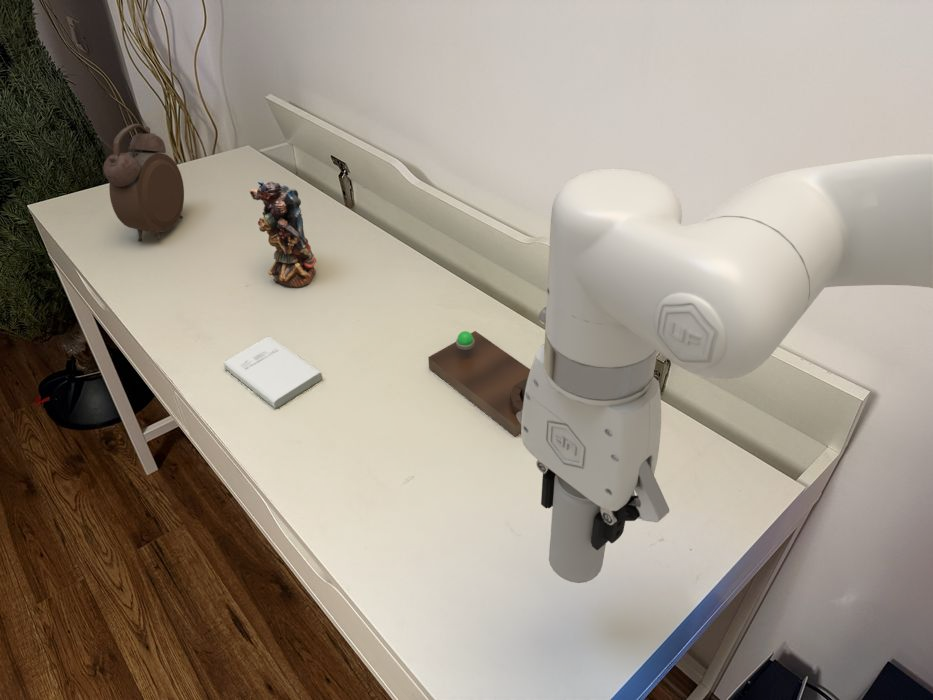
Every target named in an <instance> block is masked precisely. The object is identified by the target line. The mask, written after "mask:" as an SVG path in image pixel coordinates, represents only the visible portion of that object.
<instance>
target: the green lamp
mask: <svg viewBox="0 0 933 700" xmlns="http://www.w3.org/2000/svg"><path fill="white" fill-rule="evenodd" d="M471 333H472V332H470V331H467V330H465V331H464V330H463V331H461V332H459V334H458V335H457V338H456V339H455V342H456V345H457V347H458V348H460V349H463V350H467V349H471V348H472V347H473V346H474V344H475V341H474V338H473V336H472V334H471Z"/></svg>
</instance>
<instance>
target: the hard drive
mask: <svg viewBox="0 0 933 700" xmlns="http://www.w3.org/2000/svg"><path fill="white" fill-rule="evenodd" d="M223 366H224V369H225V370H226V371H228V372H229V373H230V374H232V375H233V376H234V377H235V378H236V379H237V380H239V381H240V382H241V383H243V384H244V385H245V386H246V387H248V388H249V389H250V390H251V391H252V392H253V393H255V394H257V395H258V396H259V397H261V399H263V400H264V401H265V402H267V404H269V405H271V407H273V408H274V409H279V408H281V407H282V406H284V405H285V404H287V403H289V402H290V401H291V400H293V399H295V398H296V397H298V396H300V395H301V394H303V393H304V392H305V391H307V390H309V389H310V388H311V387H313V386H315V385H317V384H318V383H319V382H321V381H322V380H323V373H322V372H321V371H320V370H319V369H317V368H316V367H314V366H313V365H312V364H310V363H308V362H307V361H306V360H304V359H303V358H301V357H300V356H298V354H296V353H295V352H293V351H292V350H291V349H289V348H287V347H286V346H284V345H283V344H282V343H280V342H279V341H278V340H276V339H274V338H273V337H272V336H266V337H265V338H263V339H261V340H259V341H258V342H256V343H254V344H252V345H251V346H248V347H246V348H245V349H243V350H242V351H240V352H238V353H236V354H235V355H232V356H231V357H229V358H227V359H226V360H225V361H224V362H223Z"/></svg>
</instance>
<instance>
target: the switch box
mask: <svg viewBox="0 0 933 700" xmlns="http://www.w3.org/2000/svg"><path fill="white" fill-rule="evenodd" d="M470 333H471V334H472V336H473V338H474V341H475V344H474V346H473V347H472V348H471V349H467V350H463V349H460V348H458V347H457V345H456V341H454V342H452V343H450V344H449V345H447V346H445V347H444V348H441V349H440V350H438V351H437V352H435V353H433V354H431V355H429V356H428V357H427V358H428V369H429V370H430V371H431V372H432V373H434V374H436V376H438V378H441V380H442V381H444V382H445V383H446V384H447V385H449V386H450V387H452V389H454V390H455V391H457V392H458V393H459V394H461V396H463V397H464V398H465V399H467V400H468V401H469V402H471V403H472V404H473V405H474V406H476V407H477V408H478V409H479V410H480V411H482V412H483V413H484V414H485V415H486V416H488V417H489V418H490V419H492V421H494V422H495V423H497V424H498V425H499V426H500V427H502V428H503V429H505V431H507V432H508V433H510V434H511V435H512V436H513V437H514V438H515V437H516V438H517V437H518V436H519V435H521V423H520V422H519V420H518V419H517V416H516V414H517V413H518V412H519V411H521V410H522V409H523V402H524V401H523V399H522V386H523V384H524V382H525V381H527V380H528V376H529V373H530V369H531V368H529V367H528V366H526V365H525V364H523V363H522V362H521V361H519V360H517V359H516V357H513V356H512V355H510V354H509V353H507V351H504V350H503V349H502V348H500V347H499V346H498V345H497V344H495V343H493V341H490V340H489V339H488V338H486V337H485V336H483V335H482V334H481V333H479V332H478V331H476V330H474V331H472V332H470Z"/></svg>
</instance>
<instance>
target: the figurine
mask: <svg viewBox="0 0 933 700" xmlns="http://www.w3.org/2000/svg"><path fill="white" fill-rule="evenodd" d="M257 184H258V185H259V186H258V189H256V188H253V189H250V190H249V193H250V196H251V197H252V200H254V201H262V204H263V205H264V206H263V211H262V217H260V218H259V219H258V221H257V225H258V227H259V231H260V232H263V233H265V232H266V233H267V235H268V240H267V242H268V244H269V246H271V247H275V251H274V253H273V260H274V262H273V263H272V266H271V267H270V268H269V270H268V271H267V274H268V275H269V276H273V279H272V280H273V282H275V283H276V284H278V285H280V286H284V287H286V288H300V287H303V286H305V285H308V284H310V282H312V280H313V278H314V276H315V274H316V268H315V264H317V259H316V257H315V254H314V253H313V251H312V248H311V245H310V243H309V240H308V239H307V238H306V235H305V231H304V220H303V219H304V218H303V216H302V215H303V214H302V209H301V208H300V207H301V204H302V201H301V199H300V197H299V192H298V190H297V189H295V188H292V189H290V187H289V186H287V185H285V184H282V183H280V182H275V181H266V182H265V180H258V181H257Z"/></svg>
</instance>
